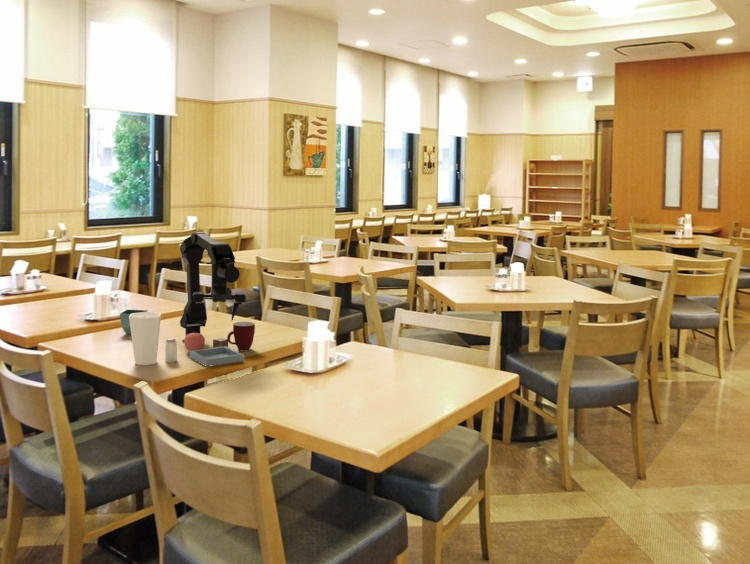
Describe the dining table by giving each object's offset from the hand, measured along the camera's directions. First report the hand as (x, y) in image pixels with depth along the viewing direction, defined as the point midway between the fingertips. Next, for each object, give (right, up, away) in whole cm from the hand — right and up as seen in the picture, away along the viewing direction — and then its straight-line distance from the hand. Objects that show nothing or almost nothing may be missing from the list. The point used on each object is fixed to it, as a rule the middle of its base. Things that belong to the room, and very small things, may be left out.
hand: (219, 320), depth 261 cm
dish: (0, -14, -4) cm, 14 cm away
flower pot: (-42, -7, +33) cm, 54 cm away
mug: (+6, -12, +11) cm, 17 cm away
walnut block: (-2, -12, +11) cm, 16 cm away
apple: (-10, -12, +6) cm, 17 cm away
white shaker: (-16, -14, -7) cm, 22 cm away
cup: (-23, -15, -11) cm, 29 cm away
